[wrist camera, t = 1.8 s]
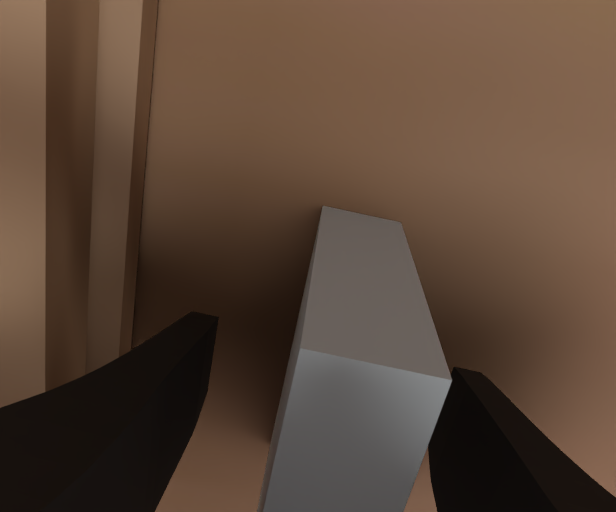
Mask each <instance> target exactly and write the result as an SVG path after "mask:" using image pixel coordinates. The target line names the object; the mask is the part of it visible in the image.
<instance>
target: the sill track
mask: <svg viewBox="0 0 616 512" xmlns="http://www.w3.org/2000/svg"><path fill="white" fill-rule="evenodd" d="M157 9H158V0H0V408H1V407H4V406H7V405H10V404H12V403H15V402H18V401H21V400H24V399H27V398H30V397H32V396H35V395H38V394H41V393H44V392H46V391H49V390H52V389H54V388H56V387H59V386H61V385H63V384H66V383H68V382H70V381H73V380H75V379H77V378H80V377H82V376H84V375H86V374H88V373H90V372H92V371H94V370H96V369H98V368H100V367H102V366H104V365H106V364H108V363H109V362H111V361H113V360H115V359H117V358H119V357H120V356H122V355H124V354H126V353H128V352H129V351H131V342H132V329H133V316H134V303H135V291H136V278H137V265H138V252H139V239H140V227H141V214H142V201H143V188H144V175H145V163H146V150H147V137H148V124H149V111H150V99H151V86H152V73H153V60H154V47H155V35H156V22H157Z"/></svg>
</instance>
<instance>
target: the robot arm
mask: <svg viewBox="0 0 616 512" xmlns="http://www.w3.org/2000/svg"><path fill="white" fill-rule="evenodd" d="M218 318H219V317H216V316H211V315H206V314H202V313H197V312H190V313H189V314H187V315H185V316H184V317H182V318H181V319H179V320H178V321H176V322H175V323H173V324H172V325H170V326H169V327H167V328H166V329H164V330H163V331H161V332H160V333H158V334H157V335H155V336H153V337H152V338H150V339H149V340H147V341H145V342H144V343H142V344H141V345H139V346H137V347H136V348H134V349H133V350H131V351H129V352H128V353H126V354H124V355H122V356H120V357H119V358H117V359H115V360H113V361H111V362H109V363H108V364H106V365H104V366H102V367H100V368H98V369H96V370H94V371H92V372H90V373H88V374H86V375H84V376H82V377H80V378H77V379H75V380H73V381H70V382H68V383H66V384H63V385H61V386H59V387H56V388H54V389H52V390H49V391H46V392H44V393H41V394H38V395H35V396H32V397H30V398H27V399H24V400H21V401H18V402H15V403H12V404H10V405H7V406H4V407H1V408H0V512H155V510H156V508H157V506H158V504H159V502H160V500H161V498H162V496H163V493H164V491H165V489H166V487H167V485H168V483H169V481H170V479H171V477H172V475H173V473H174V471H175V469H176V467H177V465H178V463H179V461H180V459H181V457H182V455H183V452H184V450H185V448H186V446H187V444H188V442H189V440H190V438H191V436H192V434H193V432H194V429H195V426H196V423H197V421H198V418H199V415H200V412H201V409H202V406H203V403H204V400H205V397H206V394H207V391H208V384H209V377H210V371H211V364H212V358H213V351H214V344H215V338H216V331H217V325H218ZM451 378H452V382H451V385H450V388H449V390H448V393H447V396H446V398H445V401H444V404H443V406H442V409H441V412H440V414H439V417H438V420H437V422H436V425H435V428H434V430H433V433H432V436H431V439H430V441H429V444H428V451H429V465H430V475H431V483H432V488H433V493H434V498H435V502H436V507H437V512H616V497H614V496H613V495H612V494H611V493H609V492H608V491H607V490H605V489H604V488H603V487H602V486H601V485H599V484H598V483H597V482H596V481H595V480H594V479H592V478H591V477H590V476H589V475H588V474H587V473H585V472H584V471H583V470H582V469H581V468H580V467H579V466H578V465H577V464H575V463H574V462H573V461H572V460H571V459H570V458H569V457H568V456H567V455H565V454H564V453H563V452H562V451H561V450H560V449H559V448H558V447H557V446H556V445H555V444H554V443H553V442H552V441H550V440H549V439H548V438H547V437H546V436H545V435H544V434H543V433H542V432H541V431H540V430H539V429H538V428H537V427H536V426H535V425H534V424H533V423H532V422H531V421H530V420H529V419H528V418H527V417H526V416H525V415H524V414H523V413H522V412H521V411H520V410H519V409H518V408H517V407H516V406H515V405H514V404H513V403H512V402H511V401H510V400H509V399H508V398H507V397H506V396H505V395H504V394H503V393H502V392H501V391H500V390H499V389H498V388H497V387H496V386H495V385H494V384H493V383H492V382H491V381H490V380H489V379H488V378H487V377H485V376H484V375H483V374H482V373H480V372H476V371H471V370H466V369H461V368H457V367H454V368H453V371H452V373H451Z"/></svg>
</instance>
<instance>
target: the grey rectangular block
mask: <svg viewBox="0 0 616 512" xmlns="http://www.w3.org/2000/svg"><path fill="white" fill-rule="evenodd" d="M451 382H452V378H451V375H450V372H449V369H448V366H447V363H446V360H445V357H444V353H443V350H442V347H441V344H440V341H439V338H438V335H437V332H436V329H435V326H434V323H433V320H432V316H431V313H430V310H429V307H428V304H427V301H426V298H425V295H424V292H423V289H422V286H421V283H420V279H419V276H418V273H417V270H416V267H415V264H414V261H413V258H412V255H411V252H410V249H409V246H408V242H407V239H406V236H405V233H404V230H403V227H402V224H401V222H397V221H392V220H388V219H383V218H378V217H374V216H369V215H364V214H360V213H355V212H350V211H346V210H341V209H336V208H332V207H327V206H323V207H322V211H321V216H320V220H319V225H318V229H317V234H316V239H315V243H314V248H313V252H312V257H311V261H310V266H309V270H308V275H307V279H306V284H305V289H304V293H303V298H302V302H301V307H300V311H299V316H298V320H297V325H296V329H295V334H294V339H293V343H292V348H291V352H290V357H289V361H288V366H287V370H286V375H285V379H284V384H283V389H282V393H281V398H280V402H279V407H278V411H277V416H276V420H275V425H274V429H273V434H272V439H271V443H270V448H269V453H268V458H267V463H266V468H265V474H264V479H263V484H262V489H261V494H260V499H259V504H258V509H257V512H403V511H404V508H405V506H406V503H407V500H408V498H409V495H410V492H411V489H412V487H413V484H414V481H415V479H416V476H417V473H418V471H419V468H420V465H421V463H422V460H423V457H424V455H425V452H426V449H427V447H428V444H429V441H430V439H431V436H432V433H433V430H434V428H435V425H436V422H437V420H438V417H439V414H440V412H441V409H442V406H443V404H444V401H445V398H446V396H447V393H448V390H449V388H450V385H451Z"/></svg>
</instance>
